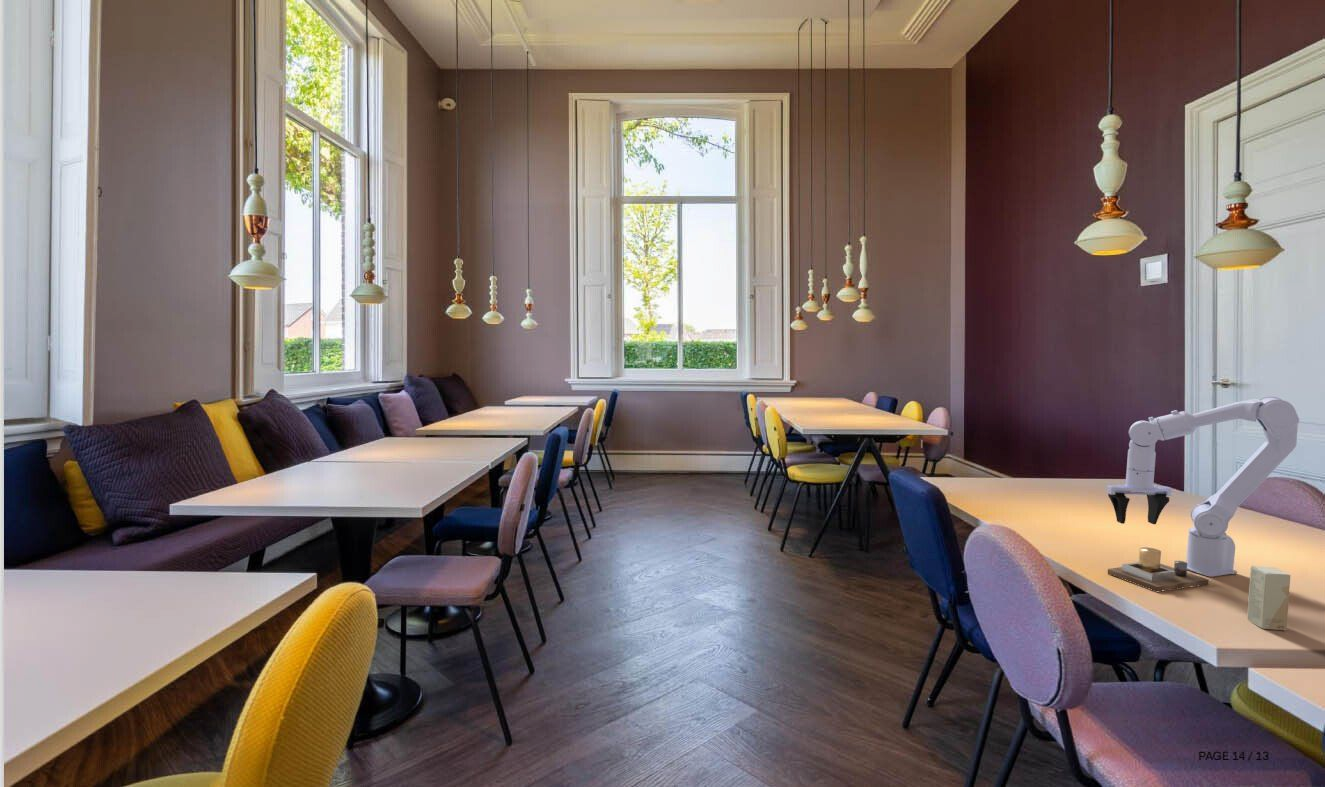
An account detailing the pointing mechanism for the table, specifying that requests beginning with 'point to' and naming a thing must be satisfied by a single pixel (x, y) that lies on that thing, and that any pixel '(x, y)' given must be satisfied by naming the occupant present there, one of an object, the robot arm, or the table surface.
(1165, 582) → the fitting board
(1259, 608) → the box
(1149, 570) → the cylinder
